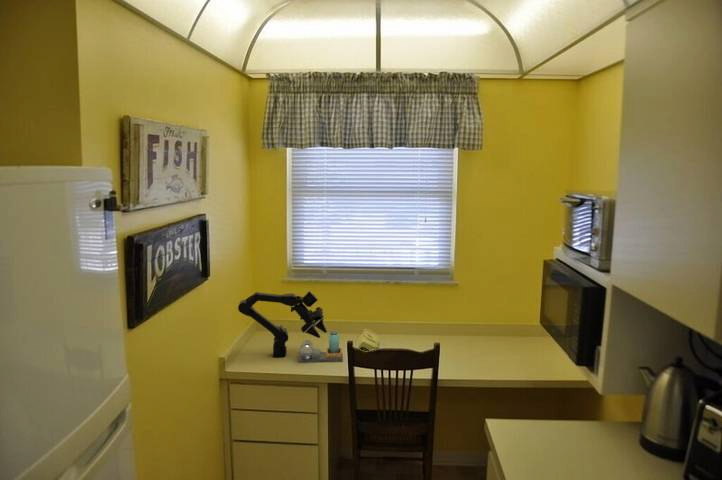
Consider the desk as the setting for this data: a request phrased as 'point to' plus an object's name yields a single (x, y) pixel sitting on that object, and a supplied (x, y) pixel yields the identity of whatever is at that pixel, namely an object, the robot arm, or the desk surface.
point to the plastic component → (368, 340)
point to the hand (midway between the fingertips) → (323, 334)
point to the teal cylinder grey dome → (333, 342)
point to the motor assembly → (317, 354)
